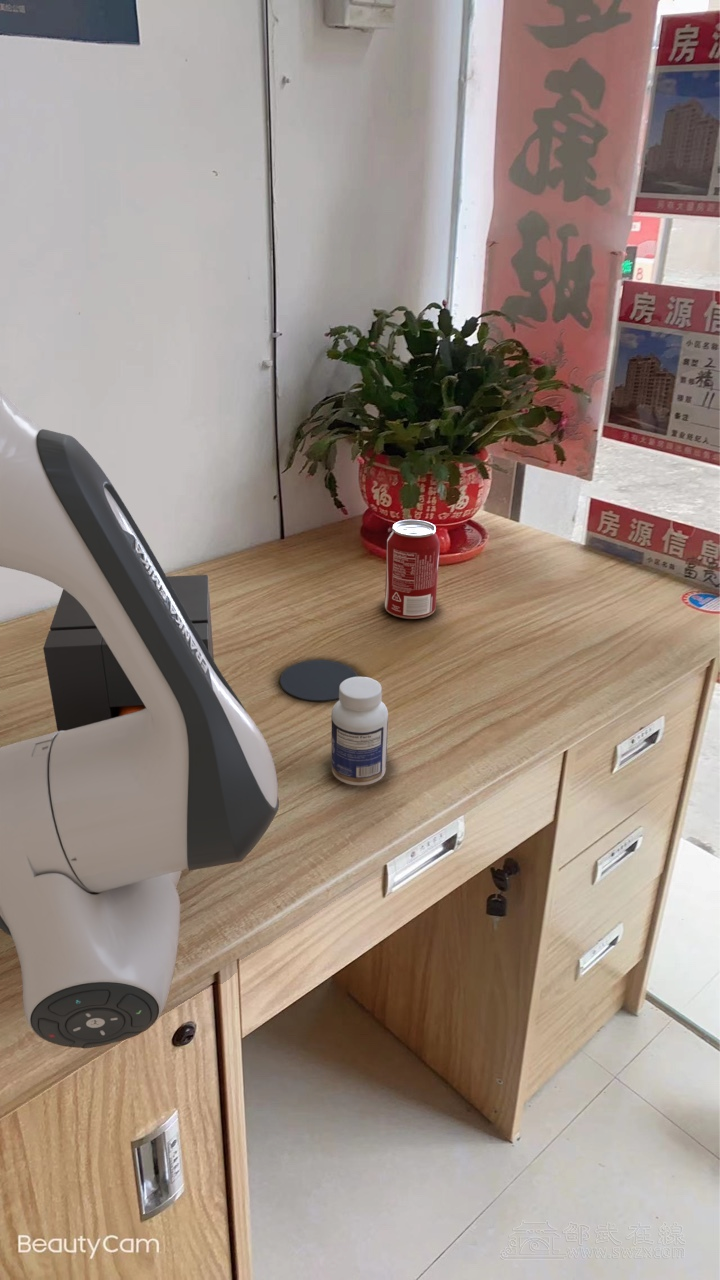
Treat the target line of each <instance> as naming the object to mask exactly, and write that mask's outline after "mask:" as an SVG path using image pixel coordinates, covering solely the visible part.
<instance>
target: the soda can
mask: <svg viewBox="0 0 720 1280" xmlns="http://www.w3.org/2000/svg"><path fill="white" fill-rule="evenodd" d="M436 530H437V528H436V525H435V524H433V523H431V522H429V521H425V520H419V519H404V520H399V521H397V522H395V523H394V524H393V525H392V531H391V533H389V535H388V537H387V539H386V557H385V558H386V560H385V561H386V562H385V587H384V588H385V590H384V609H385V611H386V612H387V613H388V614H389V615H392V616H394V617H396V618H401V619H406V620H417V619H424V618H427V617H429V616H431V615H433V614H434V612H435V611H436V607H437V606H436V605H437V591H438V578H439V577H438V576H439V561H440V546H441V540H440V538H439V537H438V534H437V533H436V532H437V531H436Z"/></svg>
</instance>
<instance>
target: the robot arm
mask: <svg viewBox="0 0 720 1280" xmlns="http://www.w3.org/2000/svg"><path fill="white" fill-rule="evenodd" d="M0 568H6V569H10V570H15V571H19V572H22V573H27V574H30V575H33V576H36V577H39V578H41V579H44V580H46V581H48V582H50V583H52V584H54V585H56V586H58V587H59V588H61V589H62V590H63V589H64V590H66V591H67V592H68V593H70V594H71V595H72V596H73V597H74V598H75V599H77V600H78V601H79V603H80V604H81V605H82V606H83V607H84V608H85V610H86V611H87V613H88V614H89V616H90V617H91V619H92V620H93V622H94V624H95V625H96V627H97V629H98V630H99V632H100V633H101V635H102V637H103V638H104V640H105V642H106V643H107V645H108V646H109V648H110V650H111V651H112V653H113V655H114V656H115V658H116V660H117V661H118V663H119V664H120V666H121V668H122V669H123V671H124V673H125V674H126V676H127V677H128V679H129V681H130V682H131V684H132V686H133V687H134V689H135V690H136V692H137V694H138V695H139V697H140V699H141V700H142V702H143V704H144V705H145V707H146V708H145V709H143V710H140V711H137V712H134V713H130V714H126V715H122V716H119V717H115V718H111V719H107V720H104V721H100V722H96V723H92V724H89V725H85V726H81V727H77V728H74V729H70V730H66V731H63V730H61V731H57V730H56V731H53V732H50V733H47V734H42V735H39V736H35V737H31V738H27V739H25V740H20V741H17V742H14V743H10V744H7V745H3V746H0V930H1V931H3V932H4V933H5V934H6V935H8V936H10V937H11V938H12V940H13V945H14V946H15V949H16V953H17V956H18V960H19V965H20V970H21V982H22V1003H23V1004H22V1005H23V1012H24V1016H25V1019H26V1023H27V1024H28V1025H29V1027H30V1029H31V1031H33V1033H34V1034H35V1035H36V1036H38V1037H39V1038H40V1039H43V1041H46V1042H48V1043H51V1044H54V1045H57V1046H62V1047H68V1048H75V1049H76V1048H77V1049H84V1050H85V1049H92V1048H93V1049H94V1048H99V1047H103V1046H107V1045H111V1044H115V1043H120V1042H122V1041H125V1040H128V1039H132V1038H134V1037H136V1036H138V1035H140V1034H142V1033H144V1032H146V1031H147V1030H149V1029H150V1028H151V1027H152V1026H153V1025H154V1024H155V1023H156V1022H157V1021H158V1019H159V1018H160V1016H161V1015H162V1013H163V1011H164V1009H165V1007H166V1004H167V1002H168V998H169V994H170V991H171V988H172V982H173V978H174V974H175V968H176V962H177V957H178V947H179V938H180V925H181V900H180V895H179V892H178V889H177V886H178V884H179V882H180V879H181V876H182V871H184V870H188V871H189V872H190V871H196V870H202V869H207V868H212V867H218V866H224V865H231V864H236V863H240V862H243V860H244V859H245V858H246V857H247V856H248V855H249V854H250V853H251V852H252V850H253V849H254V848H255V847H256V846H257V844H258V843H259V842H260V841H261V840H262V838H263V836H264V835H265V833H266V832H267V830H268V829H269V827H270V826H271V824H272V822H273V820H274V819H275V817H276V815H277V813H278V811H279V807H280V805H279V804H280V799H279V784H278V775H277V770H276V765H275V761H274V759H273V754H272V752H271V749H270V747H269V744H268V743H267V741H266V739H265V737H264V735H263V734H262V731H261V730H260V729H259V726H258V725H257V724H256V723H255V721H254V720H253V718H252V717H251V716H250V715H249V713H248V711H247V709H246V707H244V705H243V703H242V702H241V700H240V698H239V697H238V695H237V694H236V693H235V692H234V690H233V689H232V687H231V685H230V684H229V683H228V682H227V680H226V678H225V677H224V675H223V674H222V672H221V671H220V669H219V667H218V666H217V664H216V662H215V659H214V660H213V659H212V657H211V655H210V653H209V652H208V650H207V648H206V646H205V645H204V643H203V641H202V639H201V637H200V636H199V634H198V632H197V630H196V628H195V627H194V625H193V623H192V621H191V620H190V618H189V616H188V614H187V612H186V611H185V609H184V607H183V605H182V603H181V602H180V600H179V598H178V596H177V595H176V593H175V591H174V589H173V587H172V586H171V584H170V582H169V580H168V578H167V577H168V576H167V575H166V573H165V571H164V569H163V568H162V566H161V564H160V562H159V561H158V559H157V557H156V555H155V554H154V552H153V550H152V548H151V547H150V545H149V543H148V541H147V539H146V538H145V536H144V535H143V533H142V530H141V529H140V528H139V526H138V525H137V523H136V520H135V519H134V518H133V515H132V514H131V513H130V511H129V510H128V507H127V506H126V504H125V502H124V501H123V500H122V498H121V496H120V494H119V493H118V491H117V490H116V488H115V487H114V484H112V482H111V480H110V479H109V477H108V476H107V474H106V473H105V472H104V470H103V469H102V467H101V466H100V465H99V463H98V462H97V461H96V459H95V458H94V457H93V456H92V455H91V454H90V452H89V451H88V450H87V449H86V448H85V447H84V446H83V444H81V443H80V442H79V441H78V439H76V438H75V437H74V436H72V435H70V434H65V433H61V432H58V431H54V430H49V429H44V428H43V427H41V426H40V425H38V424H37V423H36V422H35V421H33V420H32V419H31V418H30V417H29V416H28V415H27V414H26V413H25V412H24V411H22V410H21V409H20V408H19V407H18V406H17V404H15V403H14V402H13V401H12V400H11V399H10V397H9V396H8V395H7V394H6V393H5V392H4V390H3V389H2V387H0Z"/></svg>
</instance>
